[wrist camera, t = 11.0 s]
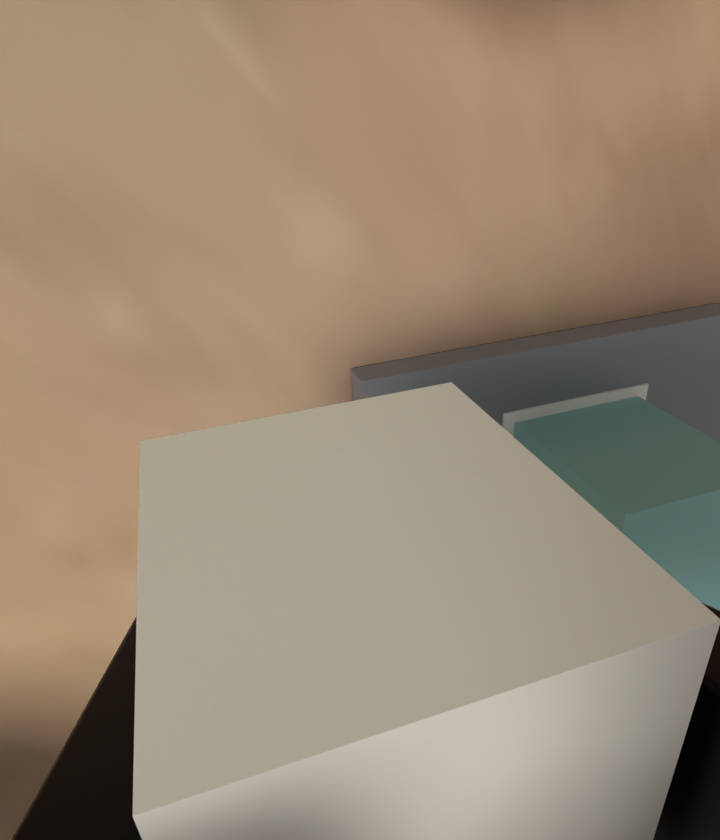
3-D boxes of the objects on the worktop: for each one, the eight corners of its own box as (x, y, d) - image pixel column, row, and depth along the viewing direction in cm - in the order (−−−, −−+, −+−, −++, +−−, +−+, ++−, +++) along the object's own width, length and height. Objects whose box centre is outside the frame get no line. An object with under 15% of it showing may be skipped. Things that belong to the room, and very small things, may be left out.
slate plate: (367, 602, 21) (377, 624, 20) (350, 368, 17) (362, 382, 16) (690, 512, 25) (711, 528, 24) (743, 298, 21) (771, 307, 20)
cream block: (200, 674, 10) (241, 1081, 6) (139, 441, 8) (131, 817, 4) (447, 603, 11) (632, 904, 7) (451, 382, 9) (721, 620, 5)
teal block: (505, 538, 20) (600, 649, 16) (514, 422, 18) (624, 515, 14) (617, 509, 22) (733, 605, 17) (637, 395, 19) (775, 474, 15)
